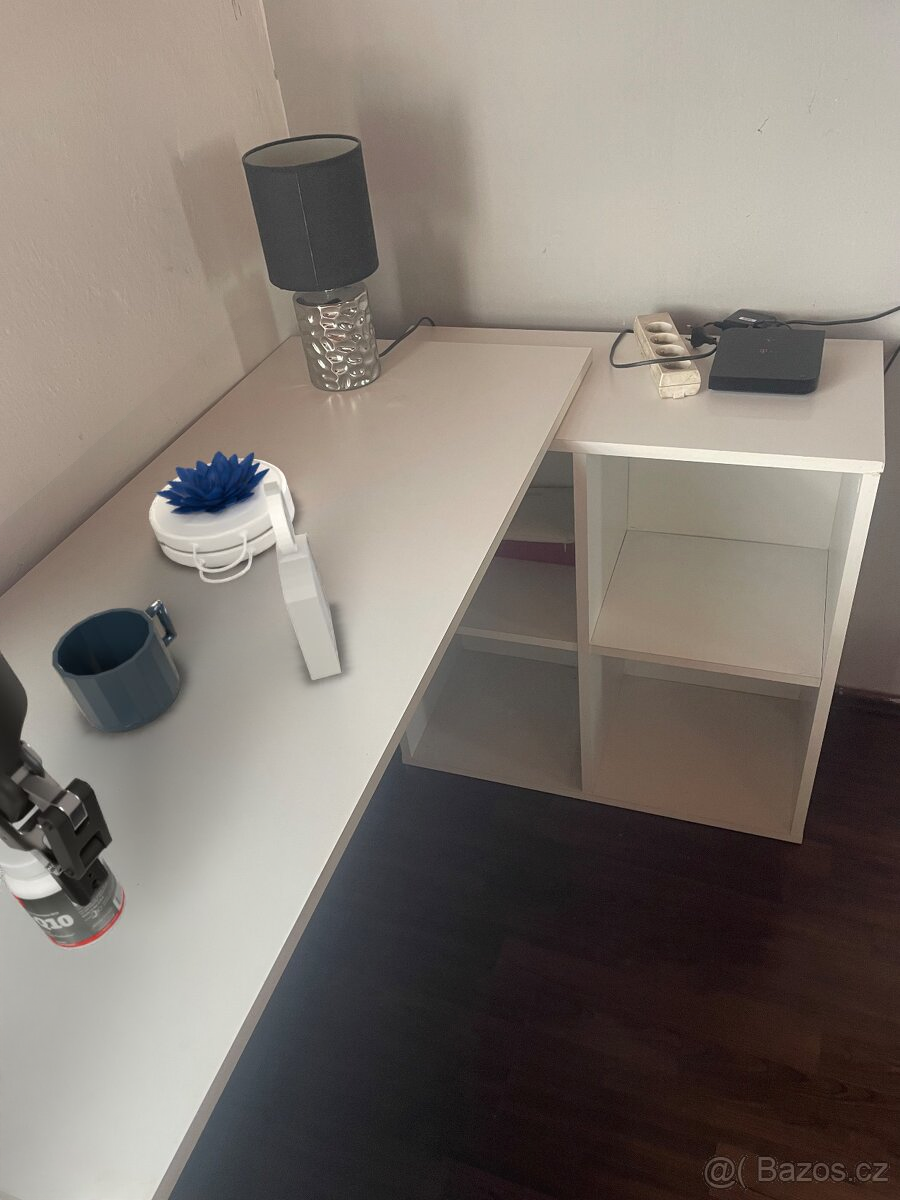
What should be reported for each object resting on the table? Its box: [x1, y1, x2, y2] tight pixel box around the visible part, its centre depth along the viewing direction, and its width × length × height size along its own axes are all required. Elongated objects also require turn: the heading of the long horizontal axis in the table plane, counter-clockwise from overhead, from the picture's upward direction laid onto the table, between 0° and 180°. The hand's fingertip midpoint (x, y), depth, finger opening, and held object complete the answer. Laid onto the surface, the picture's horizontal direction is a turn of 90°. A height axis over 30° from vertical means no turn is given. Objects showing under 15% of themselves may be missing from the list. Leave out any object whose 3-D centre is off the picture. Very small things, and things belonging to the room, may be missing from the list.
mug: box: [51, 599, 181, 733], centre depth 79 cm, size 12×9×7 cm
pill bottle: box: [0, 805, 127, 951], centre depth 50 cm, size 5×5×8 cm
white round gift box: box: [148, 450, 296, 584], centre depth 96 cm, size 7×16×20 cm
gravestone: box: [264, 481, 342, 681], centre depth 77 cm, size 3×9×18 cm, turn 12°
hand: (58, 875), depth 50 cm, fingers closed on pill bottle, 4 cm apart
